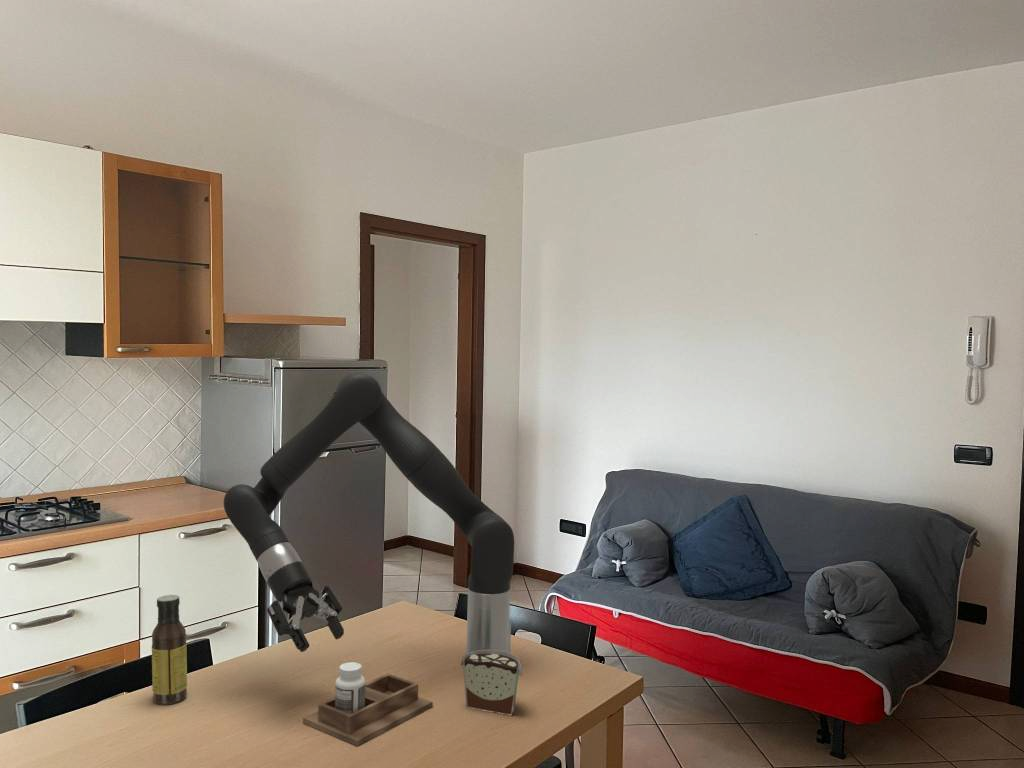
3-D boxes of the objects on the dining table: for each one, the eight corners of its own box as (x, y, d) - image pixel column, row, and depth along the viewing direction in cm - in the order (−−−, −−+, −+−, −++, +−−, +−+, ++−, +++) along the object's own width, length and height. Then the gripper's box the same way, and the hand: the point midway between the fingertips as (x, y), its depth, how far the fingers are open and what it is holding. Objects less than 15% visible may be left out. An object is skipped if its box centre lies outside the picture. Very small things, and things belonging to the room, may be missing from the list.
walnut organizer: (379, 687, 164) (380, 668, 163) (432, 706, 156) (433, 686, 156) (302, 723, 147) (303, 701, 147) (357, 746, 139) (357, 723, 139)
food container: (529, 704, 158) (530, 654, 158) (519, 717, 152) (521, 665, 152) (471, 694, 162) (472, 645, 162) (459, 706, 156) (460, 655, 156)
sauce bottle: (187, 690, 160) (188, 591, 159) (186, 703, 154) (187, 600, 153) (152, 694, 158) (153, 593, 157) (149, 707, 152) (151, 603, 151)
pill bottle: (355, 709, 151) (356, 658, 151) (370, 720, 147) (371, 667, 147) (329, 717, 148) (330, 664, 147) (343, 728, 144) (344, 674, 143)
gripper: (263, 568, 150) (303, 642, 143) (321, 553, 161) (361, 622, 155) (244, 590, 153) (283, 665, 147) (303, 575, 164) (341, 643, 158)
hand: (323, 643), depth 151 cm, fingers open, 8 cm apart
